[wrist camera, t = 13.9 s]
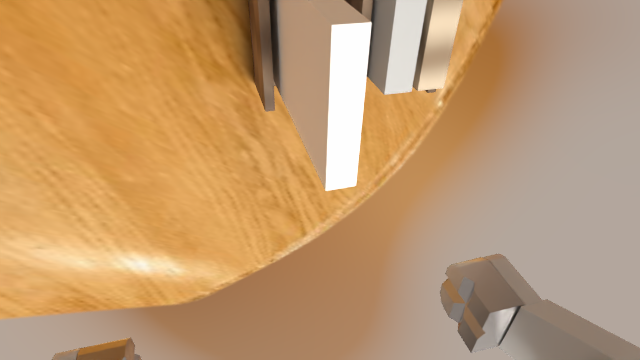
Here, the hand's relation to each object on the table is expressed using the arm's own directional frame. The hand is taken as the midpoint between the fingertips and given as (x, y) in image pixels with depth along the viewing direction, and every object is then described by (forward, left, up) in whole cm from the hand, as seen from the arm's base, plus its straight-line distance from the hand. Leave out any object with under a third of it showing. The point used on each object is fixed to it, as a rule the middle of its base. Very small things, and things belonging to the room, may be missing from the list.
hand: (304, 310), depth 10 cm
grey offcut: (+4, +17, -38) cm, 42 cm away
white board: (+4, +7, -38) cm, 39 cm away
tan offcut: (+4, +21, -38) cm, 43 cm away
